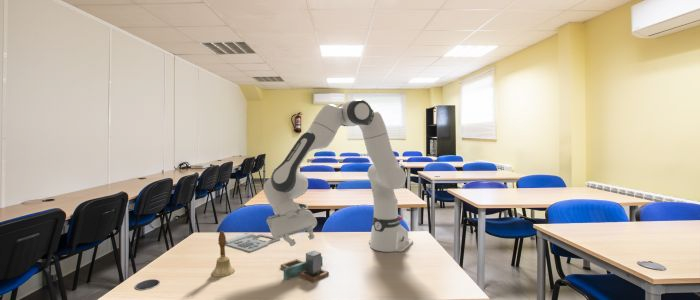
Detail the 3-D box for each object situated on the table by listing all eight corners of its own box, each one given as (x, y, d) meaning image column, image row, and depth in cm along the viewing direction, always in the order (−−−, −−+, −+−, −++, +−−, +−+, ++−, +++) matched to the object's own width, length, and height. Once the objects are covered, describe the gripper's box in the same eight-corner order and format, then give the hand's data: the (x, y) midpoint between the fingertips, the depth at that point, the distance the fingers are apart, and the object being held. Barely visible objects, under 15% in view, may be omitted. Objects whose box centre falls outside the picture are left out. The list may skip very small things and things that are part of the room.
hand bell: (226, 278, 119) (225, 235, 118) (206, 276, 120) (205, 233, 120) (239, 268, 127) (238, 228, 126) (220, 267, 128) (219, 227, 128)
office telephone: (217, 239, 157) (250, 229, 173) (217, 244, 157) (250, 233, 173) (250, 248, 144) (282, 236, 161) (250, 253, 144) (282, 241, 161)
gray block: (314, 272, 123) (313, 250, 123) (321, 275, 121) (321, 253, 120) (306, 275, 120) (305, 253, 120) (313, 278, 118) (313, 256, 117)
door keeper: (305, 258, 137) (305, 250, 137) (338, 270, 125) (338, 262, 124) (269, 271, 124) (269, 262, 124) (301, 287, 111) (301, 277, 111)
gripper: (268, 212, 120) (284, 244, 114) (309, 203, 136) (326, 231, 130) (261, 222, 124) (277, 253, 118) (302, 212, 139) (318, 239, 133)
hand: (303, 241), depth 124 cm, fingers open, 8 cm apart
